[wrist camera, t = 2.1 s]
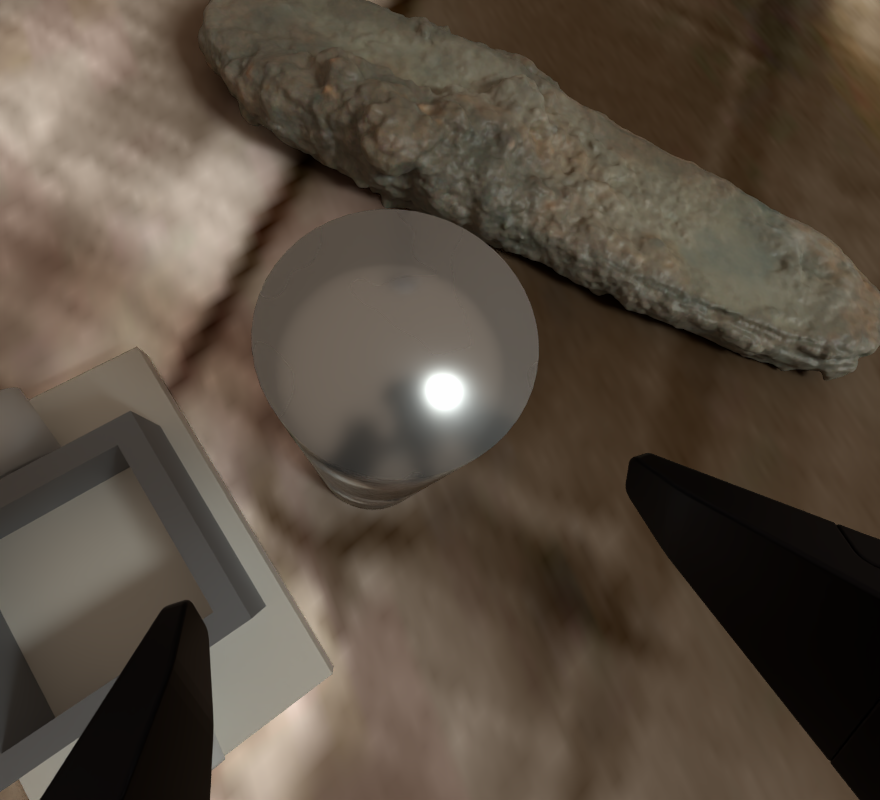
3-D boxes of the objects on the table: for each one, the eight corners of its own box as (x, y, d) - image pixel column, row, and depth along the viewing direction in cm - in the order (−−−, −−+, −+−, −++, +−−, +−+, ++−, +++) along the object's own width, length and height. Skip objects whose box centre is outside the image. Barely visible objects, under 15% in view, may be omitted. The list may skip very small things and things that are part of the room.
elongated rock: (806, 440, 26) (824, 289, 29) (923, 415, 21) (927, 236, 24) (158, 122, 22) (265, -8, 25) (112, 0, 17) (252, -141, 20)
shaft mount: (333, 666, 18) (328, 698, 15) (85, 854, 16) (9, 944, 12) (147, 355, 20) (104, 319, 16) (-104, 480, 17) (-215, 469, 14)
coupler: (442, 490, 20) (576, 432, 8) (333, 524, 19) (290, 517, 7) (411, 389, 21) (489, 190, 9) (306, 415, 20) (223, 234, 8)
